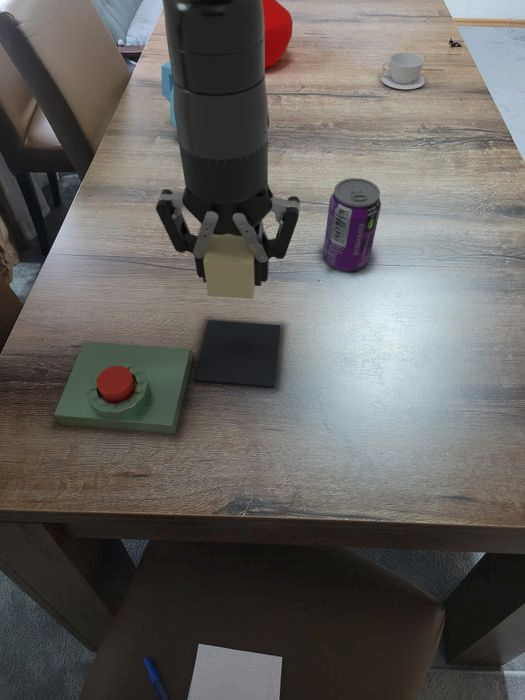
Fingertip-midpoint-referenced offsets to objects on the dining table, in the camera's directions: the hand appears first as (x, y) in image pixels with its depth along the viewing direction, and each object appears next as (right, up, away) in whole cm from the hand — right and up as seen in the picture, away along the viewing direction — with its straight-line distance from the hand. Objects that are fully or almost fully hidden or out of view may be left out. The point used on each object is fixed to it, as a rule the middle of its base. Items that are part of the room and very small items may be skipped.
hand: (233, 278), depth 54 cm
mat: (0, -8, +10) cm, 13 cm away
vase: (+1, +62, +64) cm, 89 cm away
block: (0, 0, 0) cm, 0 cm away
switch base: (-14, -13, +7) cm, 20 cm away
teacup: (+35, +53, +58) cm, 86 cm away
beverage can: (+16, +6, +22) cm, 28 cm away
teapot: (-7, +33, +43) cm, 55 cm away
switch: (-14, -12, +3) cm, 19 cm away
